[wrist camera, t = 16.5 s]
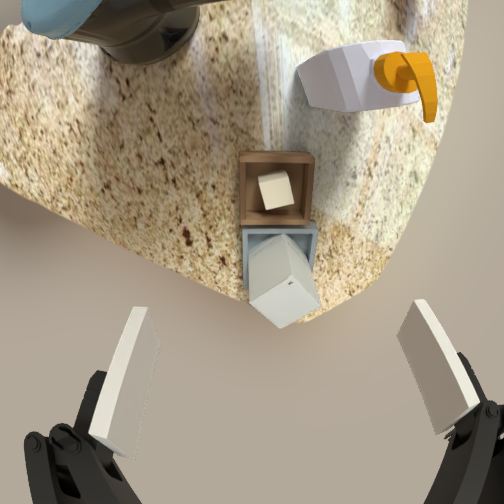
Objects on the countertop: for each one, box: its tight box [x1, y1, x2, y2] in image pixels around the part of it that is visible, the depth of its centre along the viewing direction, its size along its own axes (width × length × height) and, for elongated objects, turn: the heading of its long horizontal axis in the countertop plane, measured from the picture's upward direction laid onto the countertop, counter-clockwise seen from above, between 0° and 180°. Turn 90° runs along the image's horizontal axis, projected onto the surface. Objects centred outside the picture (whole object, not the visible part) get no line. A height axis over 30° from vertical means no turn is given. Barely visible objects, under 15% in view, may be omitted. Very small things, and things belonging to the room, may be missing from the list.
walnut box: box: [239, 151, 315, 225], centre depth 38 cm, size 10×10×4 cm
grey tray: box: [242, 220, 318, 289], centre depth 45 cm, size 12×12×3 cm
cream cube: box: [258, 169, 294, 210], centre depth 38 cm, size 4×4×4 cm
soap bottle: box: [296, 40, 438, 123], centre depth 22 cm, size 9×7×23 cm
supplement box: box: [248, 234, 321, 329], centre depth 41 cm, size 7×7×13 cm
